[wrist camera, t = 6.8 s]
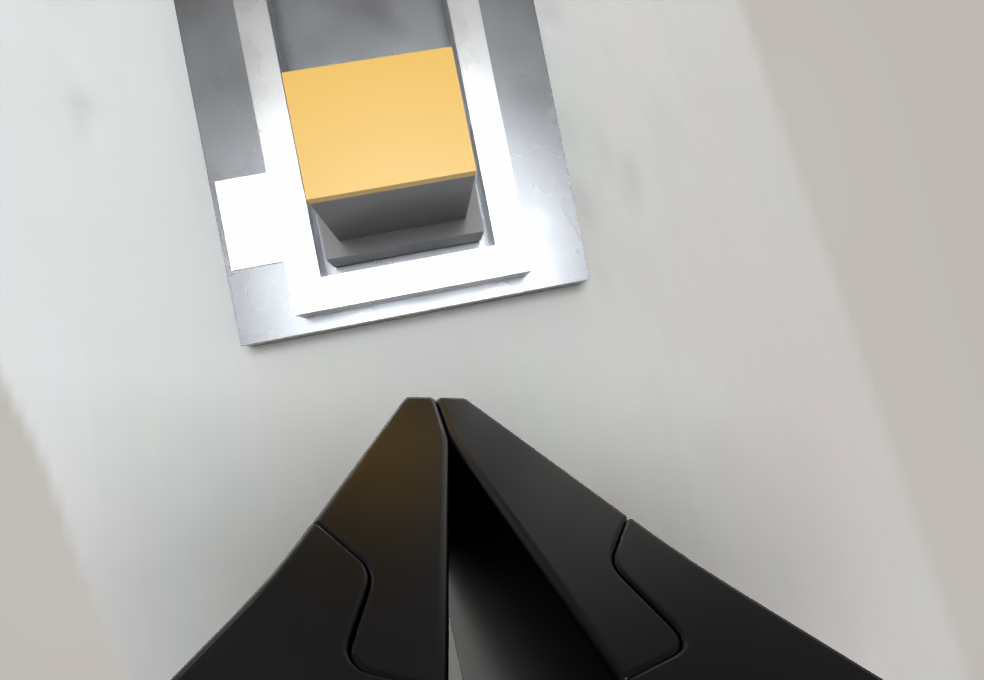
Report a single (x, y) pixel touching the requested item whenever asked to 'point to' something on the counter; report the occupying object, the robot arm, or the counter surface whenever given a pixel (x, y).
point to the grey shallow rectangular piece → (278, 181)
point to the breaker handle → (385, 155)
